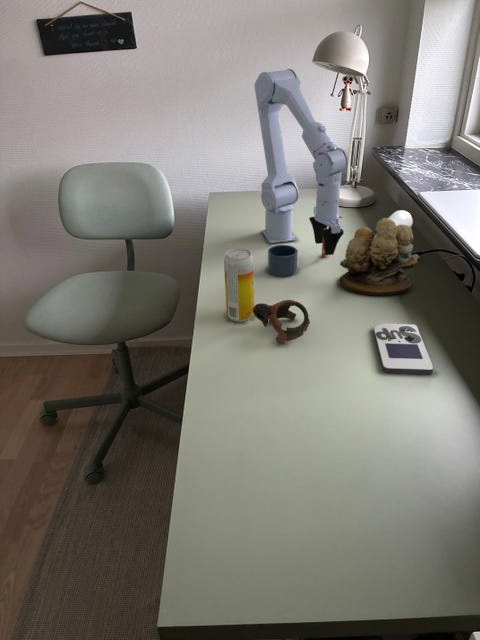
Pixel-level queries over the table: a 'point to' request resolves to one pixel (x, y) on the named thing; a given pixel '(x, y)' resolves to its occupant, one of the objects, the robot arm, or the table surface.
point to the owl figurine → (379, 260)
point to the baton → (323, 249)
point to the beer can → (239, 284)
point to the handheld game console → (402, 349)
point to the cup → (282, 260)
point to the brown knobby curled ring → (282, 311)
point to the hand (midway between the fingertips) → (324, 248)
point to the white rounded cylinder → (401, 218)
